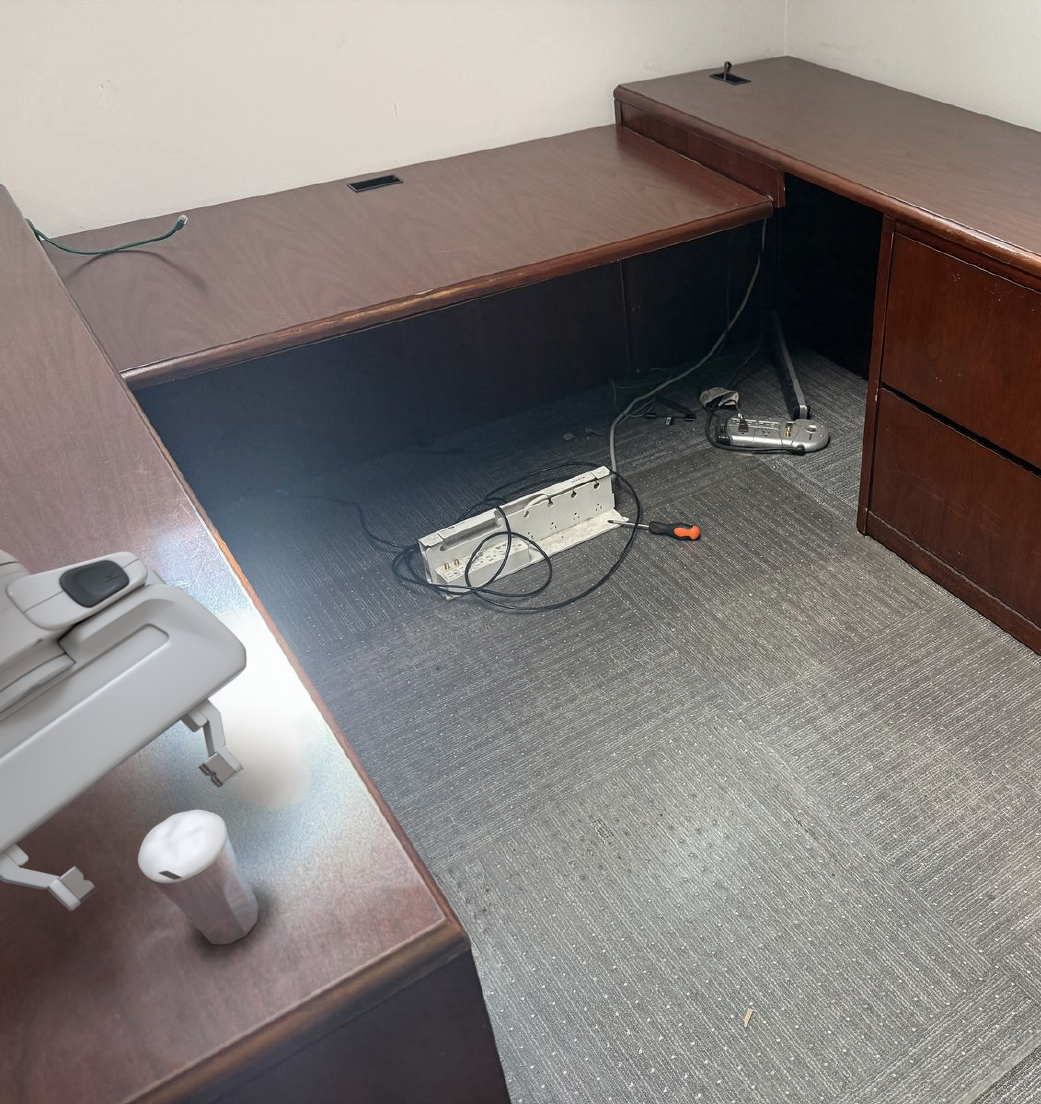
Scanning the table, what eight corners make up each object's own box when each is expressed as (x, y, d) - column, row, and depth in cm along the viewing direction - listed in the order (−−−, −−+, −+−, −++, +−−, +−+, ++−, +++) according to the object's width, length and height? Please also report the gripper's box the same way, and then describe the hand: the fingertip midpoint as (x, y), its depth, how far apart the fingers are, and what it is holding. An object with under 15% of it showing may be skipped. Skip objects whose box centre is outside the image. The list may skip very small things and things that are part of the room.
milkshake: (186, 977, 59) (115, 883, 53) (196, 898, 63) (131, 801, 56) (267, 956, 60) (207, 861, 53) (273, 879, 64) (217, 782, 57)
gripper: (-243, 779, 46) (-20, 989, 48) (156, 535, 59) (316, 710, 62) (-226, 796, 51) (-24, 987, 53) (140, 567, 64) (289, 728, 66)
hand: (161, 836), depth 57 cm, fingers open, 8 cm apart
